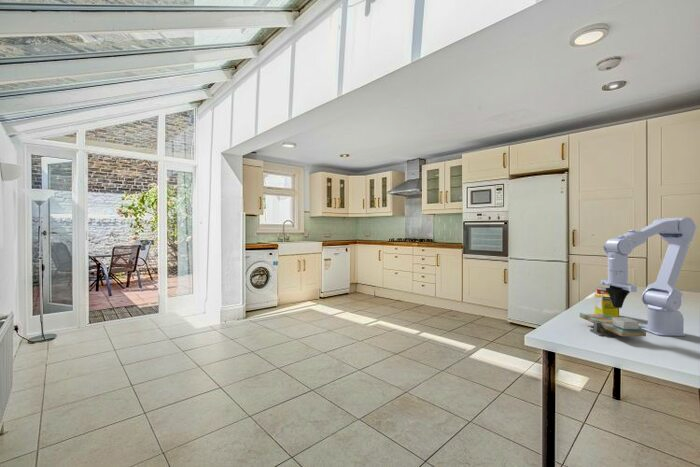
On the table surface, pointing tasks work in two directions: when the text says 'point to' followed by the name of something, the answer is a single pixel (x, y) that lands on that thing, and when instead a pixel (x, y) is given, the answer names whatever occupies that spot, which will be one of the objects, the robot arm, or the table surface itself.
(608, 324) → the balance beam
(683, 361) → the table surface
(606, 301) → the supplement box
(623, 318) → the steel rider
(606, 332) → the beam stand
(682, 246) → the robot arm
